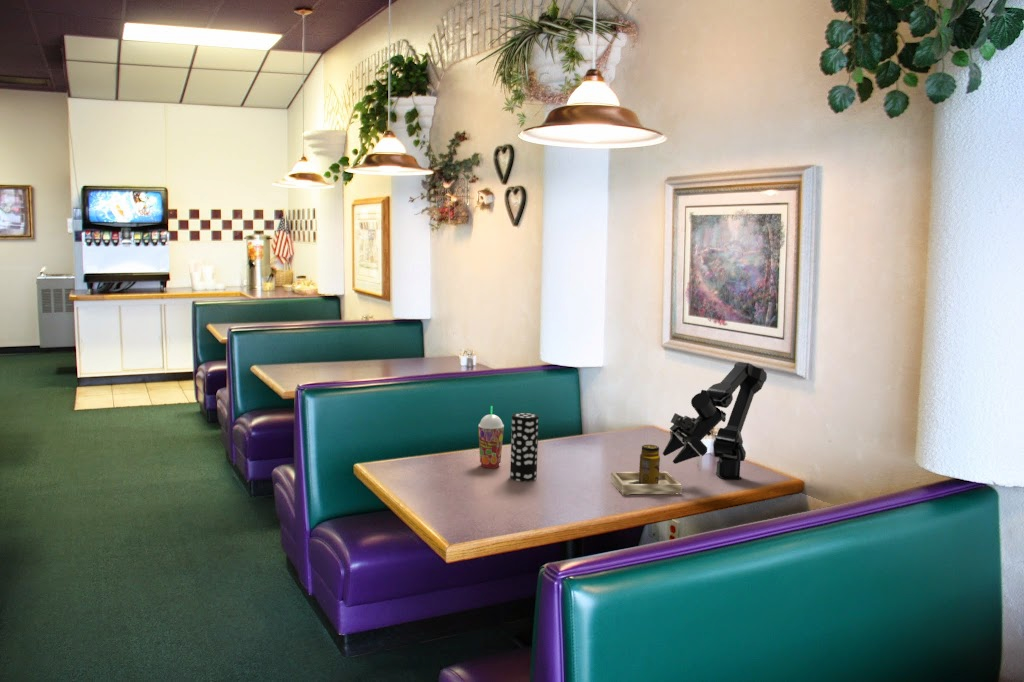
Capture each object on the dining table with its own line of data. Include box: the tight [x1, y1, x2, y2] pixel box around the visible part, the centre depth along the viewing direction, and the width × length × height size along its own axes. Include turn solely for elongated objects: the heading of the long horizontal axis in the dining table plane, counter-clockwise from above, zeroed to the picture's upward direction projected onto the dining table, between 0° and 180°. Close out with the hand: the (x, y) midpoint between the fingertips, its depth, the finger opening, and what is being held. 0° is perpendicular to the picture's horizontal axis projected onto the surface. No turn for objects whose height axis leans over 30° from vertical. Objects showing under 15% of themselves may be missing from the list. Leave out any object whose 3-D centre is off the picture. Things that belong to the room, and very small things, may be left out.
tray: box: [610, 471, 682, 496], centre depth 266 cm, size 18×14×3 cm
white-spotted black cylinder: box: [509, 412, 540, 482], centre depth 271 cm, size 8×8×20 cm
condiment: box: [628, 444, 661, 484], centre depth 265 cm, size 7×8×12 cm
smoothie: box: [477, 405, 505, 469], centre depth 284 cm, size 8×8×20 cm
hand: (668, 458), depth 266 cm, fingers open, 9 cm apart
